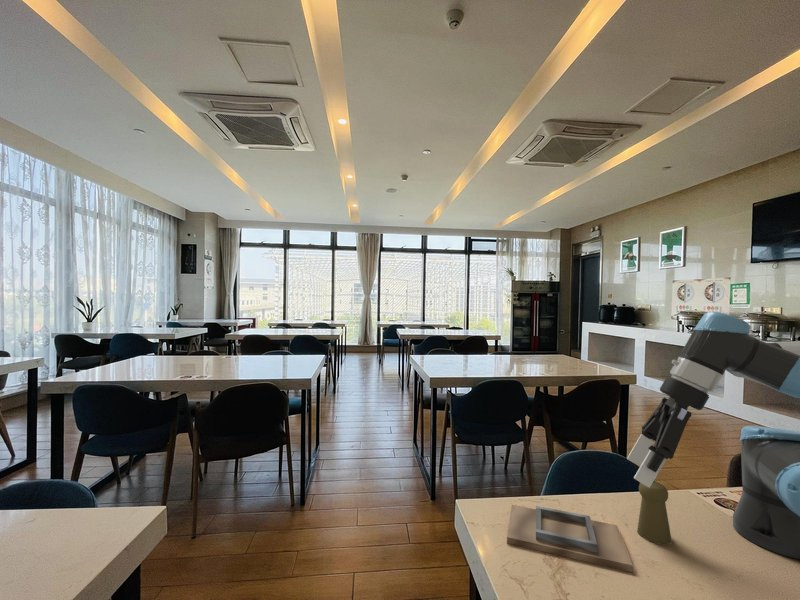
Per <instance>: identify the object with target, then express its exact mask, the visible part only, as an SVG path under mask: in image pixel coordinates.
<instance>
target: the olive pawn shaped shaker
mask: <svg viewBox="0 0 800 600" xmlns="http://www.w3.org/2000/svg"><path fill="white" fill-rule="evenodd" d="M638 492H639V494H640V495H641V500H640V508H639V514H638V515H639V516H638V517H639V518H638V524H637V530H636V532H637V534H638V535H639V536H640V537H641V538H642V539H644V540H646V541H649V542H650V543H654V544H656V545H665V546H667V545H670V544H672V541H673V540H672V533H671V529H670V528H671V527H670V523H669V518H668V511H667V505H666V502H667V501H668V499H669V492H668V489H667V487H666V486H665V485H664V484H662V483H660V482H658V481H655V480H654V481H653V483H652V484H651V486H650V488H649V487H647V486H645V485H644V484H642V483H640V482H639V484H638Z"/></svg>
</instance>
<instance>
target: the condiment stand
mask: <svg viewBox="0 0 800 600" xmlns="http://www.w3.org/2000/svg"><path fill="white" fill-rule="evenodd" d="M535 507H536V508H531V507H526V506H522V505H521V506H520V505H517V504H511V507H510V515H509V521H508V528H507V534H506V535H507V536H506V544H510V545H514V546H518V547H523V548H526V549H531V550H535V551H539V552H544V553H546V554H547V553H548V554H552V555H556V556H560V557H565V558H569V559H574V560H577V561H583V562H587V563H592V564H595V565H600V566H604V567H609V568H612V569H617V570H621V571H626V572H629V573H634V568H633V567H634V565H633V563H632V560H631V557H630V555H629V552H628V550H627V549H628V548H627V546H626V543H625V542H624V539H623V537H622V534H621V531H620V529H619V526H618V524H614V523H608V522H603V521H598V520H594V519H593V520H592V519H591V517H590V515H588V514H587V515H585V514H581V513H575V512H570V511H565V510H560V509H555V508H550V507H544V506H540V505H536V506H535Z"/></svg>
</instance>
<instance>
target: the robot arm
mask: <svg viewBox="0 0 800 600" xmlns="http://www.w3.org/2000/svg"><path fill="white" fill-rule="evenodd" d="M751 328H752V326H751V324H750V323H748V322H747V321H745V320H743V319H741V318H738V317H735V316H734V315H730V314H727V313H725V312H719V311H708V312H705V313H704V314H703V316H702V317H701V318H700V320H699V321H698V323H697V324H696V326H695V327H694V328H693V329H692V333H691V335H690V336H689V338H688V340H687V342H686V343H685V345H684V347H683V349H682V350H681V352H680V354H679V355H678V358H677V359H672V360H671V364H672V365H673V366H672V367H671V369H670V371H669V374H670V375H671V376H670V375H668V376H666V377H665V379H664V380H663V382H662V384H661V385H660V387H659V391H660V392H661V393H662V394H664V395H666V396H668V398H667V397H663V398H661V401H660V403H659V404H658V406H657V407H656V408H655V410H654V411H653V412H652V414H651V415H650V417H649V418H648V419H647V420H646V421H645V423H644V424H643V425H642V427H641V434H640V435H639V437H638V438H637V440H636V442H635V443H634V446H633V447H632V449H630V452H629V454H628V455H627V456H626V459H627V460H628V461H630V462H632V463H633V464H635V465H637V466H638V467H639V468H638V470H637V471H636V472H635V473H636V474H634V476H633V479H634V480H635V481H638V482H639V484H640V483H642V484H644V485H645V486H647V487H649V488H650V486H651V484H652V483H653V481H654V482H655V480H656V477H657V476H658V475H659V473H660V471H661V470H662V468H663V466H664V464H665V463H666V461H667V460H668V459H670V460H672V459H673V458H674V456H675V453H676V450H677V448H678V445H679V443H680V440H681V439H682V436H683V433H684V430H685V428H686V425H687V424H688V421H689V420H690V418H691V417H692V412H690V411H689V410H688V408H692V409H694V410H697V411H702V410H703V409H704V407H705V405H706V404H707V402H708V400H709V399H710V395H709V394H708V393H713V392H714V391H715V389H716V388H717V386H718V384H719V383H720V381H721V379H722V377H723V376H724V373H725V372H726V371H727V372H728V373H730V374H731V375H733V376H735V377H737V378H743V379H745V380H749V381H752V382H755V383H757V384H760V385H764V386H766V387H769V388H770V389H773V390H775V391H777V392H778V393H783V394H785V395H788V396H790V397H793V398H796V399H800V340H796V341H777V342H775V341H774V342H766V341H763V340H760V339H758V338H756V337H754V336H752V335H751V334H750V331H751ZM739 442H740V451H741V453H740V454H741V455H740V456H741V458H740V459H741V482H742V484H741V485H742V493H741V496H740V498H739V500H738V502H737V503H736V507H735V509H734V511H733V513H732V526H733V528H734V530H735V531H736V532H737V533H738V534H740V536H742V537H743V538H745V539H747V540H748V541H750V542H751V543H753V544H755V545H758V546H760V547H762V548H764V549H766V550H768V551H770V552H774V553H777V554H780V555H782V556H785V557H789V558H792V559H796V560H800V431H799V430H798V431H797V430H791V429H783V428H777V427H768V426H758V425H746V426H743V427H742V428H741V430H740V438H739Z"/></svg>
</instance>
